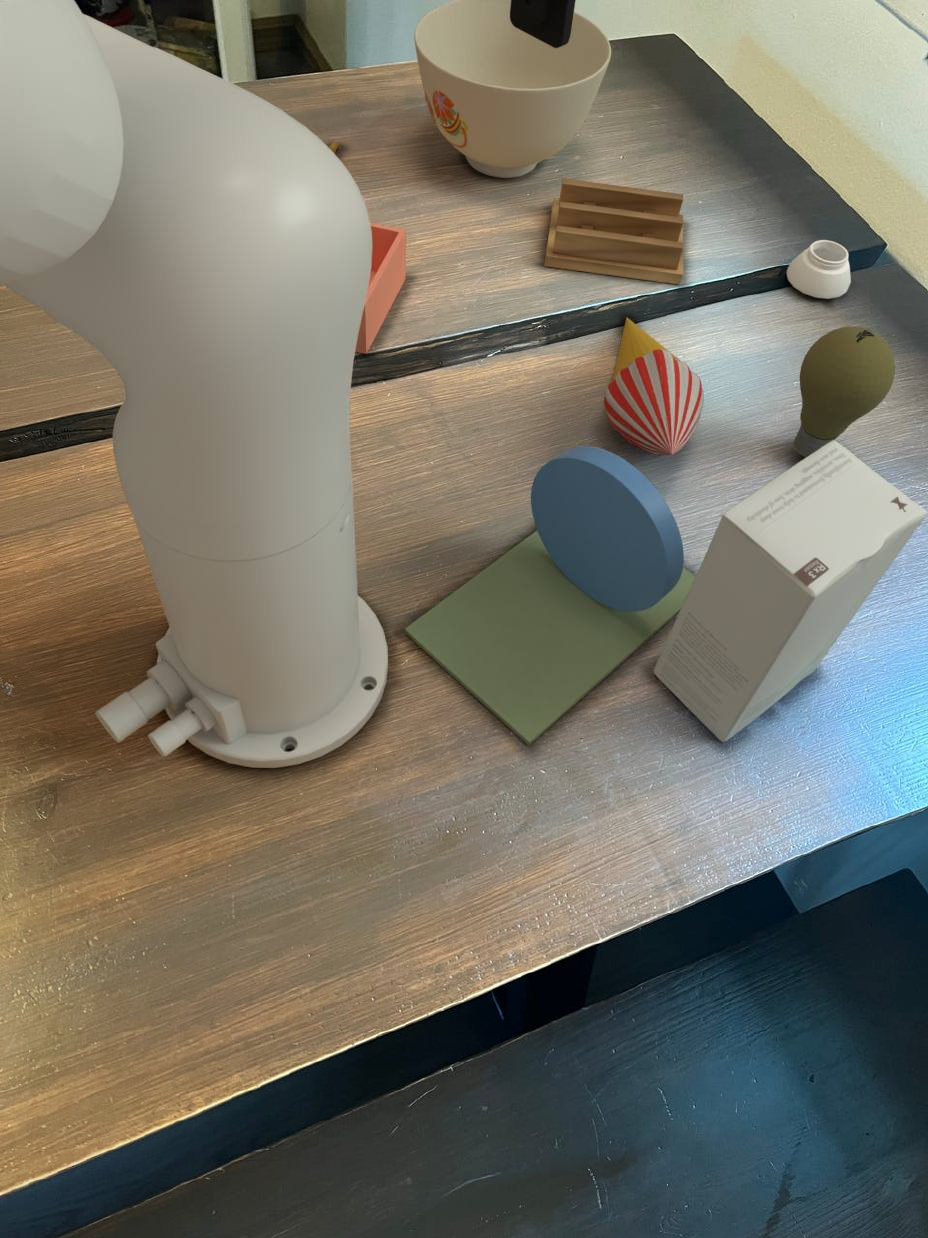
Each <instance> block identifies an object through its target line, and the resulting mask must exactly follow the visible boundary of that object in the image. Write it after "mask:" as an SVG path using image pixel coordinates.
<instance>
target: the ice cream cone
mask: <svg viewBox="0 0 928 1238" xmlns="http://www.w3.org/2000/svg"><path fill="white" fill-rule="evenodd" d="M704 393H705V392H704V390H703V387H702V380H701V378H700V376H699V375H698V374H697V372H695V371H693V370H691V368H690V367H689V365H688V363H686V362H685V361H683V360H681V359H680V358H678V357H677V356H676V355H675V354H673V353H672V352H671V351H669V350H668V349H667V348H666V347H665V346H663V345H662V344H661V343H660V342H658V341H657V340H656V339H655V338H653V337H652V336H651V335H650V334H649V333H647V332H646V331H645V330H643V329H642V328H641V327H639V326H638V324H636V323H635V322H634V321H632V320H631V319H630V318H628V317H626V318H625V323H624V326H623V331H622V336H621V340H620V345H619V350H618V354H617V358H616V363H615V367H614V372H613V377H612V380H611V382H609V383H608V385H607V386H606V388H605V392H604V397H603V406H604V409H605V411H606V414H607V418H608V421H609V423H610V425H611V426H612V427H613V428H614V429H615V430H616V431H617V432H618V433H619V434H621V435H622V437H623V438H624V439H625V440H626V441H627V442H629V443H630V444H631V445H633V446H635V448H638V449H641V450H643V451H645V452H648V453H651V454H654V455H657V456H672V455H675V454H676V453H678V452H680V451H681V450H682V449H683V448H684V447H685V446H686V445H687V443H689V440H690V439H691V438H692V436H693V435H694V433H695V432H696V430H697V428H698V425H699V424H700V419H701V414H702V410H703V408H704V401H705V394H704Z"/></svg>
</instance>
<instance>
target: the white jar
mask: <svg viewBox="0 0 928 1238" xmlns="http://www.w3.org/2000/svg"><path fill="white" fill-rule="evenodd" d="M786 278H787V281H788V282H789V283H790V285H791V286H792V287H793V288H795V289H796V290H798V291H799V292H800V293H802V294H804V295H808V296H809V297H813V298H817V299H828V300H829V299H835V298H840V297H842V296H843V295H845V294H846V293H848V290H849V288H850V286H851V283H852V279H851V278H852V277H851V265H850V261H849V251H848V250H847V249H846V247H844V245H841V244H840V243H837V242H835V241H832V240H827V239H819V240H816V241H814V242H812V243H811V244H810V245H809V247H807V248H806V249H804V250H803V251H802V252H800V253H799V254H798V255H797V256H796V257H795V258H793V260H791V261H790V263H789V265H788V267H787V269H786Z"/></svg>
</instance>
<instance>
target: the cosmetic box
mask: <svg viewBox="0 0 928 1238" xmlns="http://www.w3.org/2000/svg"><path fill="white" fill-rule="evenodd" d="M927 514H928V511H927V510H926V509H925V508H924V507H922V506H920V505H919V504H917V503H916V502H915V501H914V500H912V499H911V498H910V497H909V496H907V495H906V494H905V493H904V492H902V491H901V490H900V489H898V488H897V487H896V486H895V485H893V484H892V483H890V482H889V481H888V480H886V479H885V478H884V477H883V476H881V475H880V474H879V473H877V472H876V471H874V470H873V469H872V468H871V467H870V466H868V465H867V464H866V463H864V462H863V461H862V460H860V458H859V457H857V456H856V455H855V454H854V453H852V451H850V450H849V449H848V448H847V447H845V446H844V445H843V444H841V443H840V442H838V441H837V440H835V441H834V440H832V441H831V442H829V443H827V444H826V445H824V446H823V447H821V448H820V449H818V450H817V451H815V452H814V453H812V454H811V455H809V456H808V457H806V458H805V457H804V458H803V459H801V460H800V461H799V462H797V463H795V464H794V465H793V466H791V467H789V468H787V469H786V470H785V471H783V472H782V473H781V474H779V475H777V476H776V477H774V478H773V479H772V480H770V481H768V482H767V483H765V484H764V485H763V486H761V487H760V488H758V489H757V490H755V491H754V492H752V493H751V494H749V495H748V496H746V497H745V498H743V499H742V500H741V501H739V502H738V503H736V504H735V505H733V506H732V507H730V508H729V509H727V510H726V511H725V512H723V513H722V515H721V517H720V521H719V522H718V525H717V528H716V529H715V532H714V534H713V536H712V539H711V541H710V543H709V546H708V549H707V551H706V553H705V555H704V557H703V559H702V562H701V564H700V566H699V568H698V570H697V572H696V574H695V575H694V576H695V578H694V581H693V583H692V585H691V587H690V589H689V592H688V594H687V596H686V598H685V600H684V603H683V605H682V607H681V610H680V612H679V613H678V614H677V617H676V619H675V621H674V623H673V625H672V628H671V629H670V632H669V634H668V636H667V638H666V641H665V643H664V645H663V648H662V650H661V652H660V655H659V657H658V658H657V661H656V663H655V666H654V668H653V671H652V672H653V674H654V675H655V676H656V677H657V678H658V680H659V681H660V682H661V683H662V684H664V685H665V687H666V688H667V689H668V690H669V691H670V692H671V693H673V694H674V695H675V697H677V698H678V700H679V701H680V702H681V703H682V704H683V705H684V706H685V707H686V708H687V709H688V710H689V711H690V712H691V713H692V714H693V715H694V716H695V717H696V718H697V719H698V720H699V721H700V722H701V723H702V724H703V725H704V726H705V728H707V729H708V730H709V731H710V732H711V733H712V734H713V735H714V736H715V737H716V738H717V739H718V740H719V741H720V742H721V743H726V742H727V741H728V740H730V739H731V738H733V737H734V736H736V735H737V734H738V733H739V732H741V731H742V730H744V729H745V728H746V727H747V726H749V724H751V723H752V722H754V720H756V719H757V718H759V717H761V715H762V714H764V713H765V712H766V711H768V710H769V709H770V708H771V707H772V706H774V704H776V703H777V702H778V701H780V700H781V699H782V698H784V697H785V696H786V695H788V693H790V691H791V690H793V689H794V688H796V686H797V685H798V684H799V683H800V682H801V681H802V680H805V678H807V677H808V676H809V675H812V673H814V672H815V671H816V669H817V668H818V667H819V665H820V664H821V662H822V661H823V659H825V657H826V656H827V655H828V653H829V651H831V649H832V647H834V645H835V643H836V642H837V641H838V639H839V638H840V636H841V635H842V634H843V632H844V631H845V629H846V628H847V627H848V625H849V624H850V623H851V621H852V620H853V618H854V617H855V616H856V614H857V613H858V611H859V610H860V608H861V607H862V606H863V605H864V603H865V601H866V600H867V599H868V598H869V596H870V595H871V593H872V592H873V590H874V589H875V588H876V587H877V585H878V584H879V582H880V581H881V580H882V578H883V577H884V575H885V574H886V573H887V571H888V570H889V568H890V567H891V565H892V564H893V563H894V561H895V560H896V559H897V557H898V555H900V553H901V551H902V550H903V549H904V547H905V546H906V545H907V543H908V542H909V541H910V539H911V538H912V536H913V535H914V533H915V532H916V531H917V530H918V528H919V526H920V525H921V523H922V522H923V521H924V520H925V518H926V516H927Z"/></svg>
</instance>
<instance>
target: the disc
mask: <svg viewBox="0 0 928 1238" xmlns="http://www.w3.org/2000/svg"><path fill="white" fill-rule="evenodd" d="M530 507H531V514H532V518H533V522H534V525H535V528H536V531H538V533H539V536H540V538H541V540H542V542H543V544H544V546H545V548H546V550H547V551H548V553H549V554H550V556H551V558H552V559H553V561H554V562H555V563H556V565H557V566H558V567H559V569H560V570H561V571H562V572H563V573H564V574H565V576H566V577H567V578H568V579H569V580H570V581H571V582H572V583H573V584H574V585H576V586H577V587H578V588H579V589H580V590H581V591H583V592H584V593H585V594H587V595H588V596H589V597H591V598H593V599H594V600H596V601H598V602H599V603H601V604H603V605H605V606H608V607H611V608H613V609H617V610H621V611H627V612H638V611H643V610H646V609H648V608H651V607H652V606H654V605H655V604H656V603H658V602H659V601H660V600H661V599H662V598H663V597H665V596H666V595H667V594H668V593H669V592H670V591H672V589H673V588H674V587H675V586H676V585H677V583H678V581H679V579H680V576H681V573H682V570H683V567H684V564H685V563H684V561H685V558H684V556H685V555H684V553H685V552H684V545H683V539H682V536H681V531H680V528H679V526H678V524H677V521H676V519H675V516H674V514H673V513H672V510H671V508H670V507H669V505H668V503H667V502H666V501H665V499H664V497H663V495H662V494H661V493H660V492H659V490H658V489H657V488H656V487H655V486H654V484H653V483H652V482H651V481H650V480H649V479H648V478H647V477H646V476H645V475H644V474H643V473H642V472H641V471H640V470H639V469H638V468H637V467H636V466H634V465H633V464H632V463H630V462H629V461H627V460H626V459H624V458H623V457H621V456H619V455H617V454H615V453H613V452H611V451H608V450H606V449H603V448H600V447H595V446H590V445H578V446H572V447H569V448H567V449H565V450H563V451H561V452H560V453H558V454H557V455H555V456H554V457H553V458H551V459H550V460H548V461H547V462H545V463H544V464H543V465H542V466H541V467H540V468H539V469H538V471H537V472H536V474H535V476H534V478H533V480H532V484H531V488H530Z"/></svg>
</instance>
